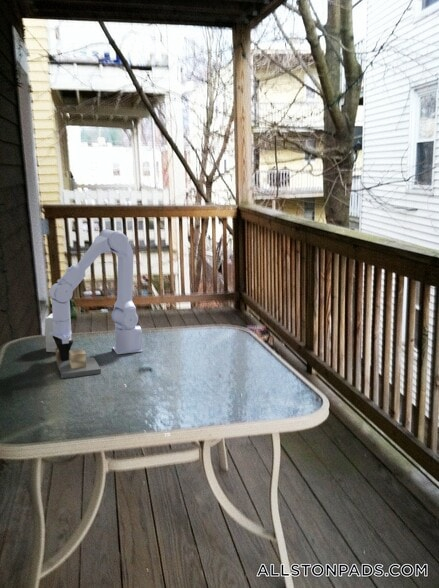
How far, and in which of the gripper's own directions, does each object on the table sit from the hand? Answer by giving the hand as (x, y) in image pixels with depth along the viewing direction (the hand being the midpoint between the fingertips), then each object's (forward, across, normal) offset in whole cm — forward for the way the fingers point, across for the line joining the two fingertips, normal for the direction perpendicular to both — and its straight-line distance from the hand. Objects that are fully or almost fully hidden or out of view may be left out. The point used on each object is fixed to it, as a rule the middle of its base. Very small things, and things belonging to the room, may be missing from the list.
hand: (63, 358), depth 179 cm
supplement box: (+2, -15, 0) cm, 15 cm away
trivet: (+1, +9, +4) cm, 10 cm away
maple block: (0, +9, +3) cm, 10 cm away
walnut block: (+1, 0, 0) cm, 1 cm away
